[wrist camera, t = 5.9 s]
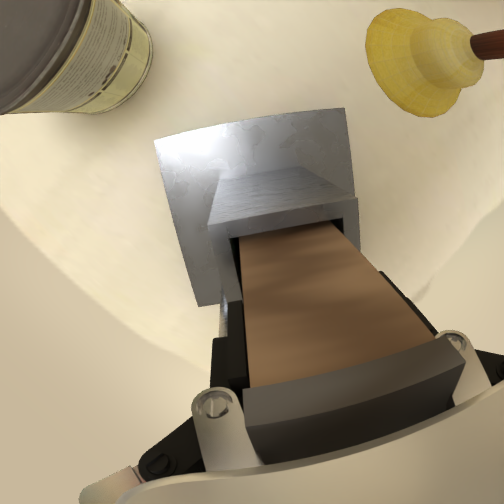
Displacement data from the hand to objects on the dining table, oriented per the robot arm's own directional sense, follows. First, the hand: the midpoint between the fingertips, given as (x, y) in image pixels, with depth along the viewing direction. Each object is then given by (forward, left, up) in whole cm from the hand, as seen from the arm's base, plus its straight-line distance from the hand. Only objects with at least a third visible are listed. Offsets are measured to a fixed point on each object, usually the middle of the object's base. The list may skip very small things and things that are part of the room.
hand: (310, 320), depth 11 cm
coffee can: (+12, -17, -17) cm, 27 cm away
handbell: (-18, -13, -17) cm, 28 cm away
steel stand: (0, 0, -17) cm, 17 cm away
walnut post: (0, 0, -13) cm, 13 cm away
